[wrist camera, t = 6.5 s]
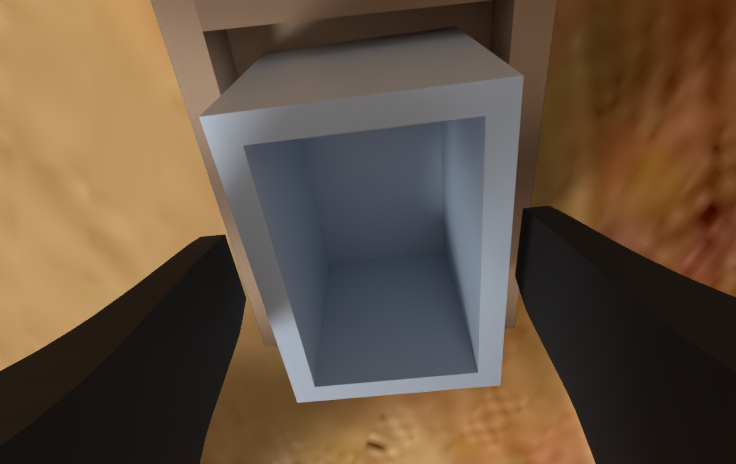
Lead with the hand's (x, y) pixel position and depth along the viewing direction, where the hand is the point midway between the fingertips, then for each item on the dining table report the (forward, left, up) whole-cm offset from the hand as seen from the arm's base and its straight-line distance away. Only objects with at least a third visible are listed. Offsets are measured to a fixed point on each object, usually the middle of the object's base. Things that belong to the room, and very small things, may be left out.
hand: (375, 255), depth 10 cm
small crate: (0, 0, -5) cm, 5 cm away
